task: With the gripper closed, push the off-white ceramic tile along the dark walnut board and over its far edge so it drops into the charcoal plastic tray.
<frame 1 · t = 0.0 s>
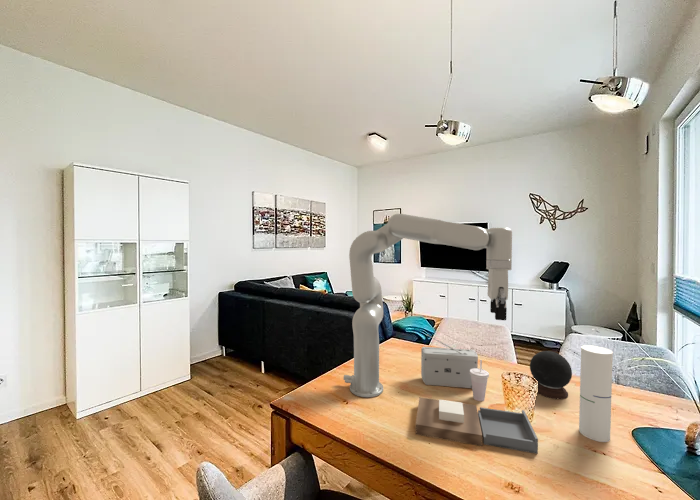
hand: (497, 316, 103), 31 cm above the table, tool pointing down, fingers open, 9 cm apart
cylindrical container: (594, 434, 90), on the table
round black desktop speaker: (549, 392, 115), on the table
smoothie: (478, 399, 110), on the table
stereo radio cassette player: (448, 384, 121), on the table
tray: (504, 433, 90), on the table
tile: (450, 414, 94), point 3 cm above the table, touching board
board: (447, 423, 95), on the table
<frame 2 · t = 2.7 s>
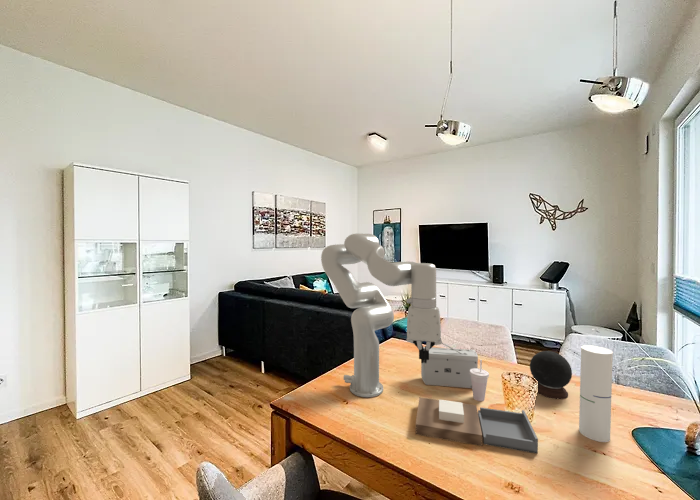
hand: (424, 361, 96), 19 cm above the table, tool pointing down, fingers closed
nothing on the table moved.
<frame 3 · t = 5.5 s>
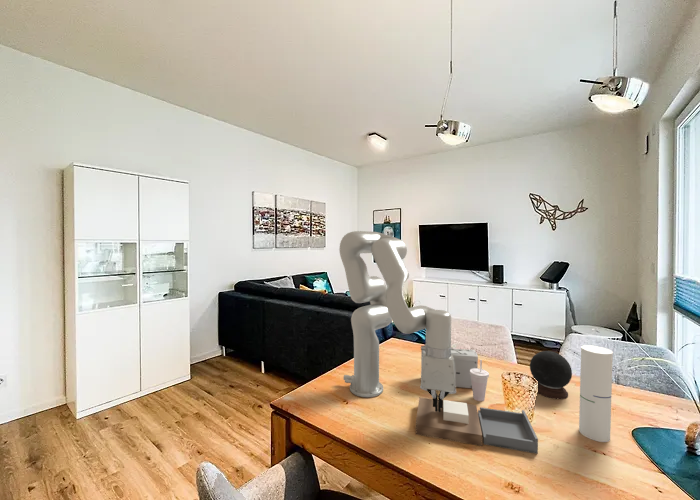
hand: (437, 409, 95), 4 cm above the table, tool pointing down, fingers closed
tile: (455, 415, 94), point 3 cm above the table, touching gripper
everything else where it was.
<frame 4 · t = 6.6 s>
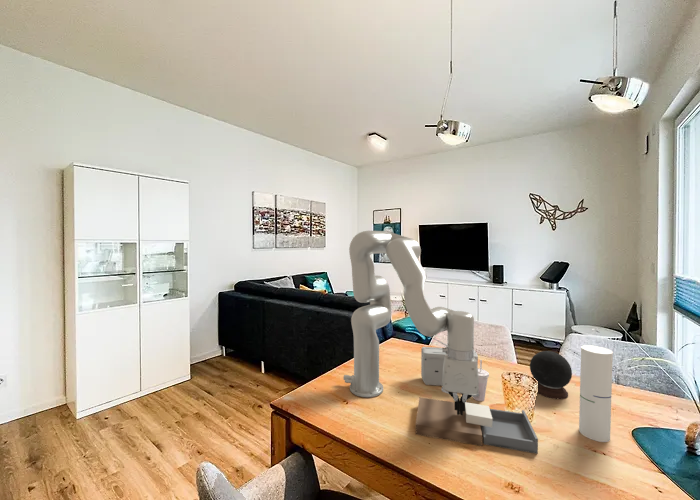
hand: (459, 412, 94), 4 cm above the table, tool pointing down, fingers closed
tile: (477, 418, 93), point 3 cm above the table, touching gripper
everything else where it was.
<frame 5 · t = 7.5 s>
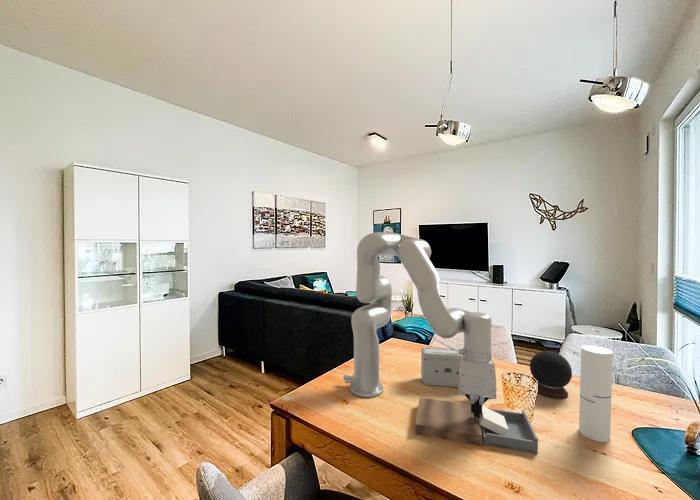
hand: (476, 415, 92), 4 cm above the table, tool pointing down, fingers closed
tile: (490, 424, 92), point 2 cm above the table, tilted 20°, touching gripper
everything else where it was.
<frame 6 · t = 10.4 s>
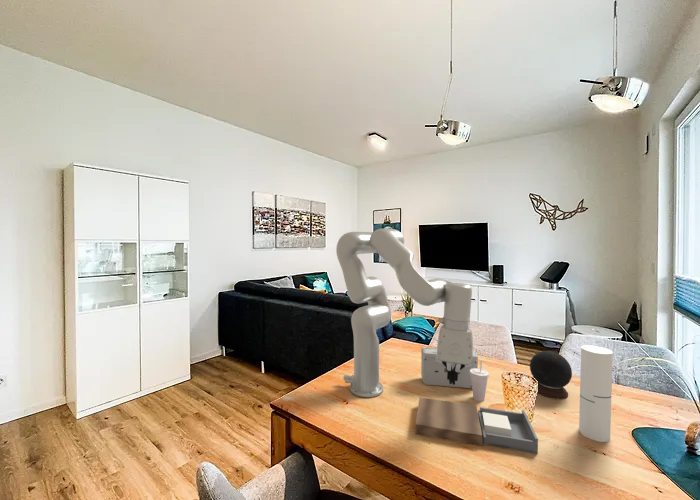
hand: (452, 382, 95), 13 cm above the table, tool pointing down, fingers closed
tile: (496, 428, 91), point 1 cm above the table, touching tray
everything else where it was.
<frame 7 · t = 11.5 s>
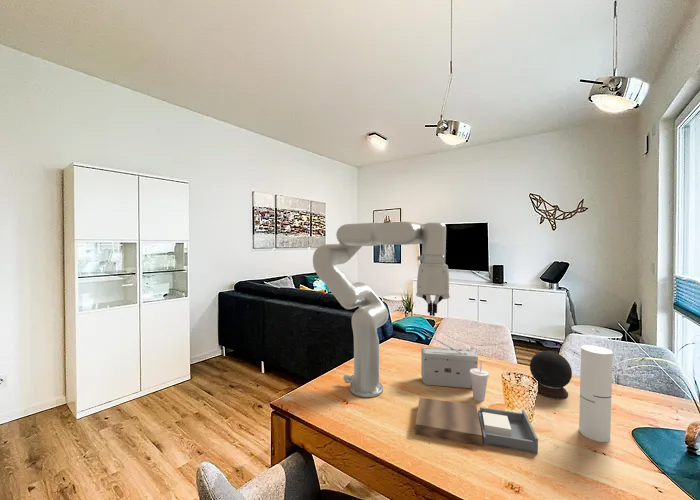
hand: (432, 314, 103), 32 cm above the table, tool pointing down, fingers closed
nothing on the table moved.
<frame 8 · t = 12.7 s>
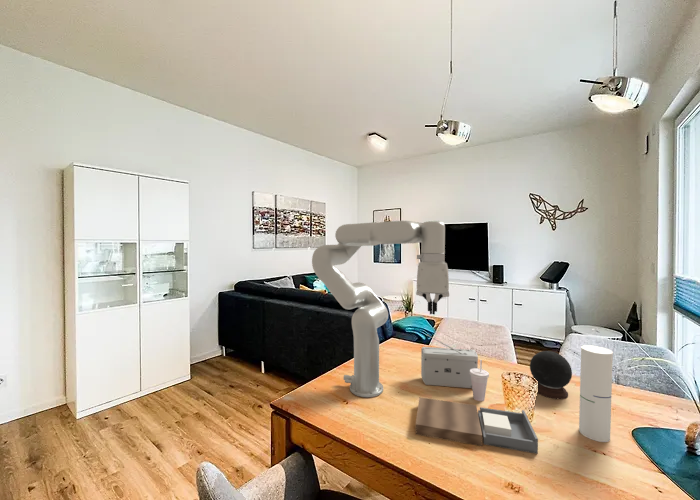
hand: (432, 313, 103), 32 cm above the table, tool pointing down, fingers closed
nothing on the table moved.
at the end: tile inside the target area on the tray (2.4 cm from its centre), point 0.6 cm above the tray's base; tile moved 13.0 cm from its start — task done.
